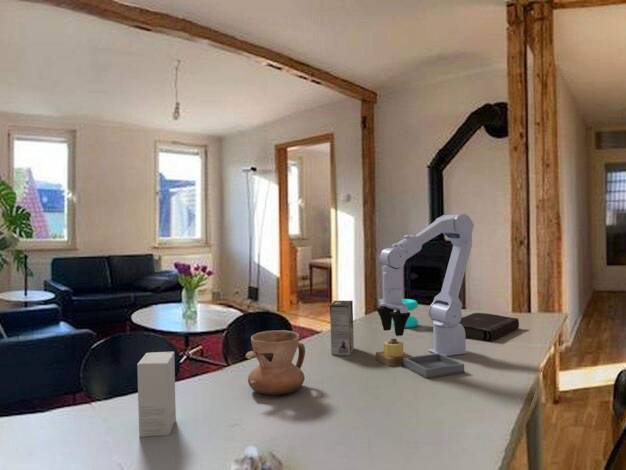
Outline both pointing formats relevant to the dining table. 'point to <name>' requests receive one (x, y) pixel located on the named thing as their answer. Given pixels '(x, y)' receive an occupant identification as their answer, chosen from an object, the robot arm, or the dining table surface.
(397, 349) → the ring
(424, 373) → the tray
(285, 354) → the ceramic jug
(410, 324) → the donuts
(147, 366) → the skincare box
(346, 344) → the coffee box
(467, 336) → the diary
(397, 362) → the block
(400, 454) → the dining table surface
